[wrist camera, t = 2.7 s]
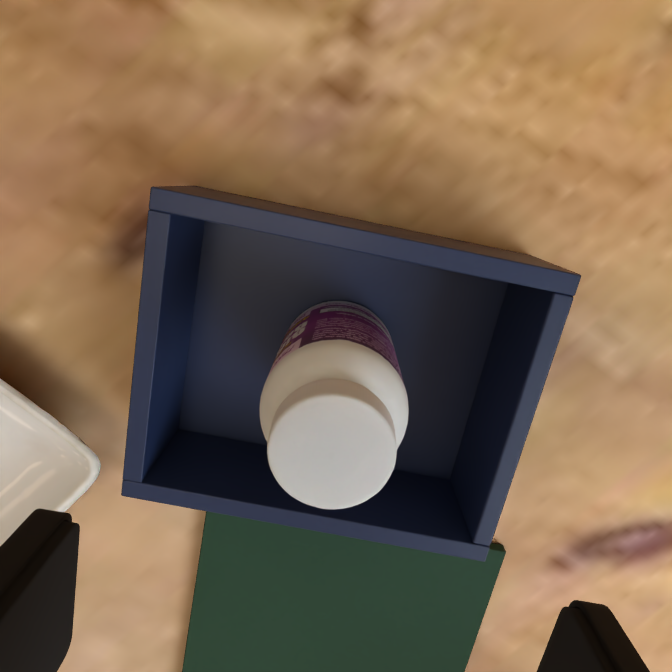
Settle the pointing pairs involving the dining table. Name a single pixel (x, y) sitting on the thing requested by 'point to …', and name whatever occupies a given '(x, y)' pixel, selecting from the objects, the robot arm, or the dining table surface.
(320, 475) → the pill bottle
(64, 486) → the square plate
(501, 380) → the basket
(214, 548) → the mat
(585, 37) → the dining table surface
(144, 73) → the dining table surface
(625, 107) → the dining table surface
